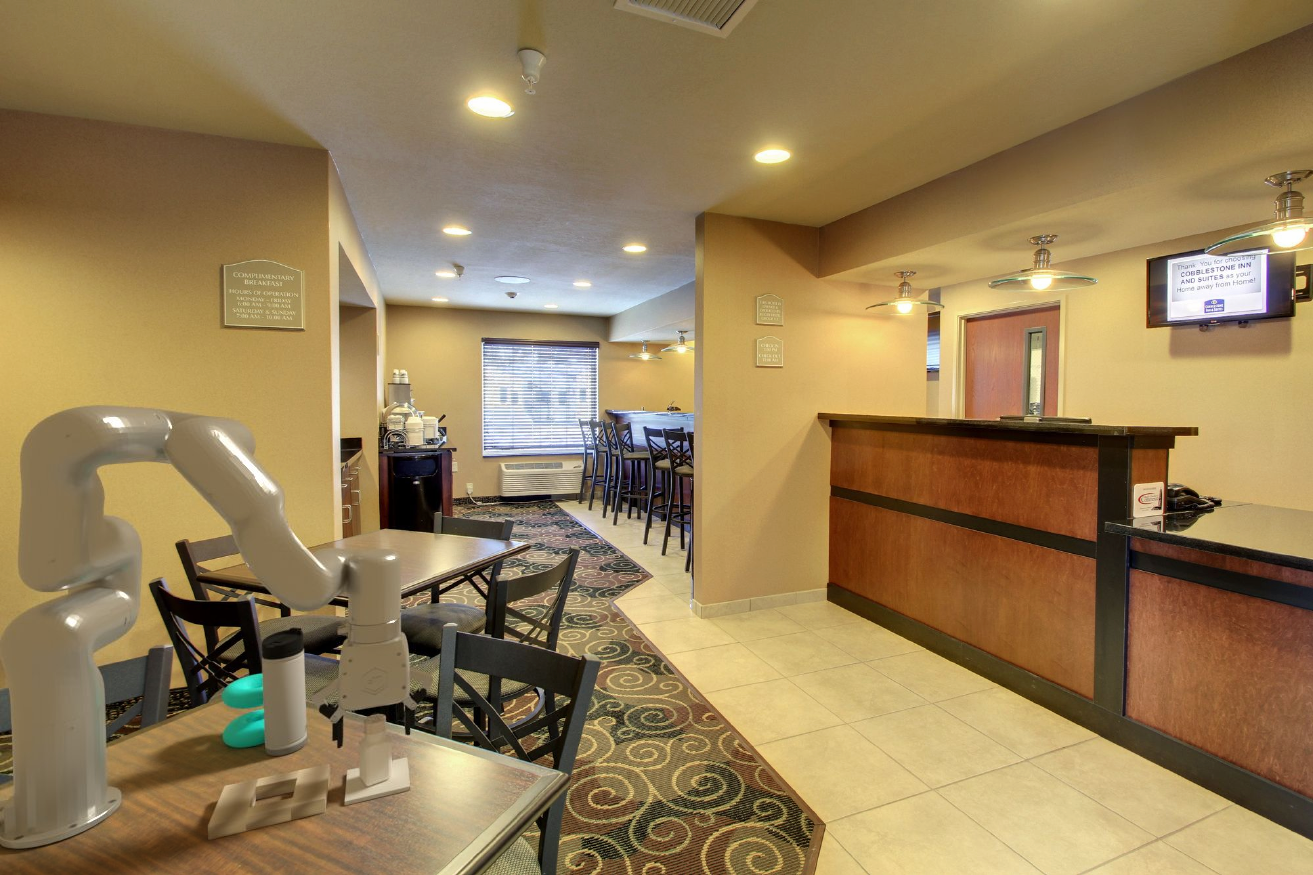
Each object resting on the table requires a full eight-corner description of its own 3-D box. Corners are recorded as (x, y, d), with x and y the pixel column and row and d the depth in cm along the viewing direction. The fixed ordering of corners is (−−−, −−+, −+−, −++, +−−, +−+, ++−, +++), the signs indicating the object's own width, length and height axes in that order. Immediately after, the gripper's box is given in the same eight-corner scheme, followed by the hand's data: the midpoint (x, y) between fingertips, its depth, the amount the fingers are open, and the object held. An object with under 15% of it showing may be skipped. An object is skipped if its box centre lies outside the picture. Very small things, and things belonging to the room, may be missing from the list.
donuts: (265, 666, 116) (299, 675, 112) (266, 718, 117) (300, 729, 112) (209, 687, 107) (243, 698, 103) (210, 743, 108) (244, 756, 103)
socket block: (208, 839, 82) (207, 825, 82) (225, 798, 91) (224, 785, 91) (325, 812, 88) (324, 798, 88) (330, 775, 97) (329, 763, 97)
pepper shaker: (365, 788, 93) (364, 727, 93) (358, 777, 96) (357, 718, 96) (392, 778, 95) (392, 719, 95) (385, 767, 98) (384, 710, 98)
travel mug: (316, 737, 109) (313, 628, 108) (287, 758, 103) (283, 641, 102) (286, 734, 110) (282, 626, 109) (256, 754, 104) (252, 639, 103)
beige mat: (344, 805, 90) (344, 801, 90) (347, 773, 98) (347, 770, 98) (410, 789, 94) (410, 786, 94) (407, 760, 102) (407, 757, 102)
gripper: (309, 645, 88) (309, 761, 88) (435, 630, 95) (434, 737, 96) (314, 629, 95) (314, 737, 95) (431, 616, 102) (431, 716, 103)
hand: (374, 737), depth 95 cm, fingers open, 9 cm apart
